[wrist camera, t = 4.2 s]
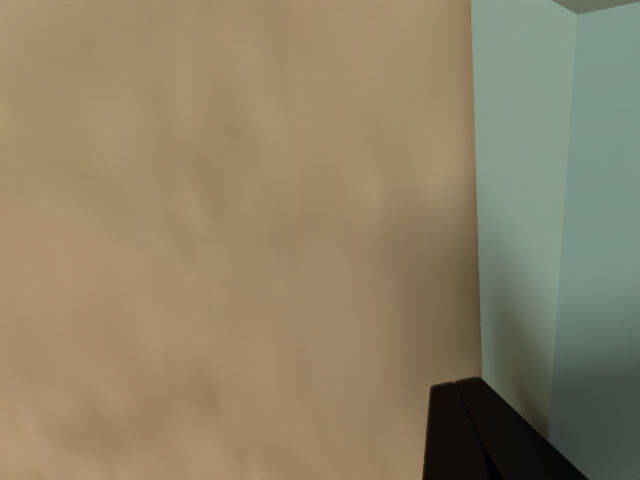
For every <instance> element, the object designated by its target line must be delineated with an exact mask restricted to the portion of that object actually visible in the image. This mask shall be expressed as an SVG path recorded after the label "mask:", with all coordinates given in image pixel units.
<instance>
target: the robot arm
mask: <svg viewBox="0 0 640 480" xmlns="http://www.w3.org/2000/svg"><path fill="white" fill-rule="evenodd" d="M422 480H589V479H588V478H587V477H586V476H585V475H584V474H583V473H581V472H580V471H579V470H578V469H577V468H576V467H575V466H574V465H573V464H572V463H571V462H570V461H569V460H568V459H567V458H566V457H565V456H563V455H562V454H561V453H560V452H559V451H558V450H557V449H556V448H555V447H554V446H553V445H552V444H551V443H550V442H549V441H548V440H547V439H545V438H544V437H543V436H542V435H541V434H540V433H539V432H538V431H537V430H536V429H535V428H534V427H533V426H532V425H531V424H530V423H529V422H527V421H526V420H525V419H524V418H523V417H522V416H521V415H520V414H519V413H518V412H517V411H516V410H515V409H514V408H513V407H512V406H510V405H509V404H508V403H507V402H506V401H505V400H504V399H503V398H502V397H501V396H500V395H499V394H498V393H497V392H496V391H495V390H494V389H492V388H491V387H490V386H489V385H488V384H487V383H486V382H485V381H484V380H483V379H481V378H480V377H471V378H466V379H461V380H457V381H456V382H446V383H441V384H436V385H433V386H431V388H430V395H429V407H428V418H427V430H426V441H425V453H424V465H423V476H422Z"/></svg>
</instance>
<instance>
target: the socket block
mask: <svg viewBox="0 0 640 480" xmlns="http://www.w3.org/2000/svg"><path fill="white" fill-rule="evenodd" d="M471 24H472V56H473V89H474V122H475V154H476V187H477V219H478V252H479V285H480V317H481V350H482V379H483V380H484V381H485V382H486V383H487V384H488V385H489V386H490V387H491V388H492V389H494V390H495V391H496V392H497V393H498V394H499V395H500V396H501V397H502V398H503V399H504V400H505V401H506V402H507V403H508V404H509V405H510V406H512V407H513V408H514V409H515V410H516V411H517V412H518V413H519V414H520V415H521V416H522V417H523V418H524V419H525V420H526V421H527V422H529V423H530V424H531V425H532V426H533V427H534V428H535V429H536V430H537V431H538V432H539V433H540V434H541V435H542V436H543V437H544V438H545V439H547V440H548V441H549V442H550V443H551V444H552V445H553V446H554V447H555V448H556V449H557V450H558V451H559V452H560V453H561V454H562V455H563V456H565V457H566V458H567V459H568V460H569V461H570V462H571V463H572V464H573V465H574V466H575V467H576V468H577V469H578V470H579V471H580V472H581V473H583V474H584V475H585V476H586V477H587V478H588V479H589V480H640V0H471Z"/></svg>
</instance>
